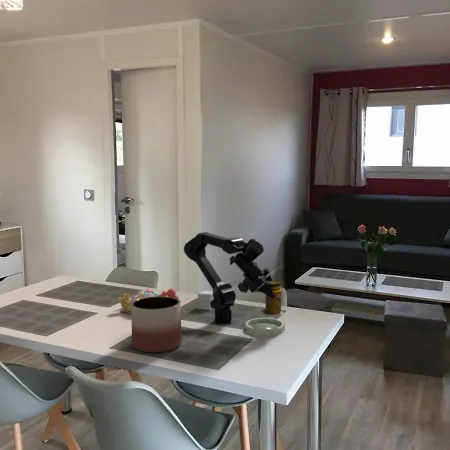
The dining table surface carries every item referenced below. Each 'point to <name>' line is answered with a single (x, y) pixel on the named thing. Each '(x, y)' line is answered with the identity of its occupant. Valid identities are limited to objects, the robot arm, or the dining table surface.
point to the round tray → (264, 326)
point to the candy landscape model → (144, 293)
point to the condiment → (273, 300)
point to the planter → (156, 323)
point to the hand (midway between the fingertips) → (275, 295)
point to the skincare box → (205, 300)
